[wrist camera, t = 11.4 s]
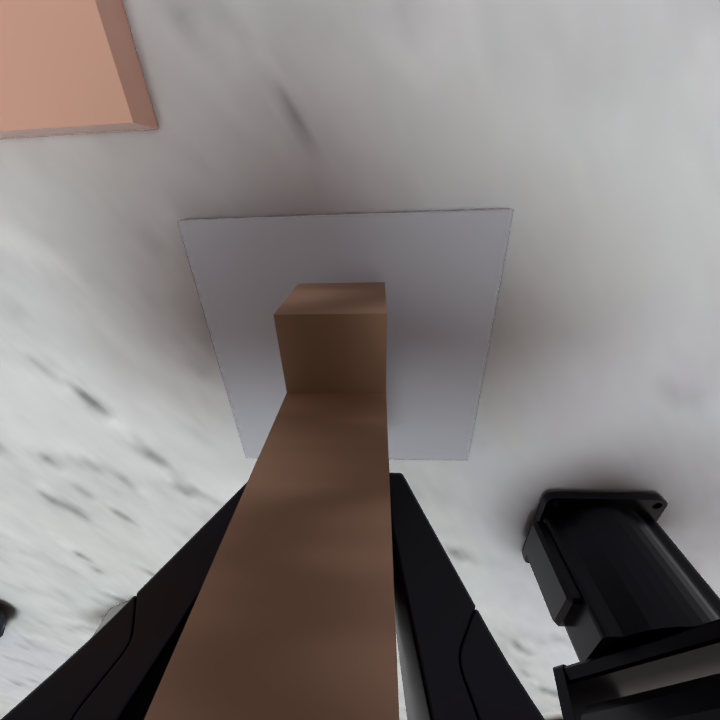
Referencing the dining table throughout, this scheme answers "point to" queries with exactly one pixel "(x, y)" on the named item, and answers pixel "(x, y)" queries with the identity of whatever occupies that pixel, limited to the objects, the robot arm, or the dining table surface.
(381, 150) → the dining table surface
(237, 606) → the brown stepped wooden block
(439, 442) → the mat
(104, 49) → the tile
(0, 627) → the dark grey folded shirt
